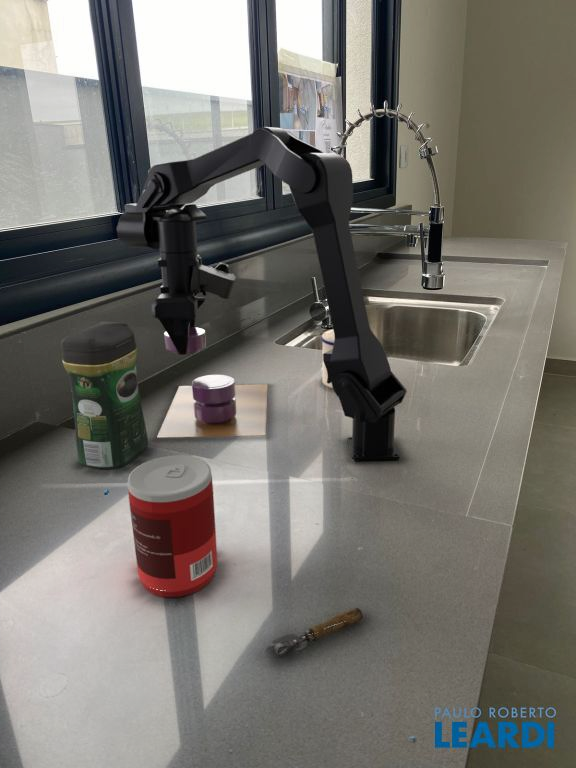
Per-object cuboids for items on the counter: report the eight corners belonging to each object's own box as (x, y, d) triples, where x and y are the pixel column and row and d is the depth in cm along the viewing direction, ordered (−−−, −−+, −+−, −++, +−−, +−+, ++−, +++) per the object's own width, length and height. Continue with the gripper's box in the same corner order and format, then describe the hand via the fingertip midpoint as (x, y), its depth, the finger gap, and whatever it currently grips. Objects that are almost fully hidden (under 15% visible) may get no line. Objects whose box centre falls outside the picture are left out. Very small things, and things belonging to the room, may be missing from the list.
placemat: (265, 437, 89) (265, 435, 89) (156, 440, 89) (156, 437, 88) (267, 386, 109) (267, 384, 109) (179, 388, 109) (179, 385, 109)
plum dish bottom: (235, 425, 92) (234, 407, 91) (191, 426, 92) (190, 408, 91) (237, 409, 98) (237, 391, 97) (197, 410, 98) (195, 392, 97)
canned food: (220, 547, 63) (214, 453, 60) (214, 598, 56) (207, 494, 52) (147, 549, 63) (136, 455, 59) (131, 601, 56) (118, 497, 52)
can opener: (356, 614, 53) (357, 603, 53) (370, 632, 51) (370, 621, 51) (261, 646, 50) (261, 635, 50) (272, 666, 48) (271, 655, 48)
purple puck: (234, 407, 91) (233, 388, 90) (190, 408, 91) (188, 389, 90) (236, 391, 97) (236, 373, 96) (195, 392, 97) (194, 374, 96)
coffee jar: (110, 438, 89) (94, 315, 83) (156, 445, 87) (144, 319, 81) (67, 468, 81) (46, 333, 74) (118, 476, 78) (100, 338, 72)
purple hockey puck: (204, 355, 95) (202, 336, 94) (162, 356, 95) (160, 337, 94) (208, 343, 102) (207, 326, 100) (169, 344, 101) (167, 327, 100)
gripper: (226, 258, 84) (231, 364, 90) (234, 242, 102) (239, 332, 107) (146, 260, 84) (156, 366, 89) (168, 243, 102) (176, 333, 107)
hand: (186, 348), depth 98 cm, fingers closed on purple hockey puck, 6 cm apart
